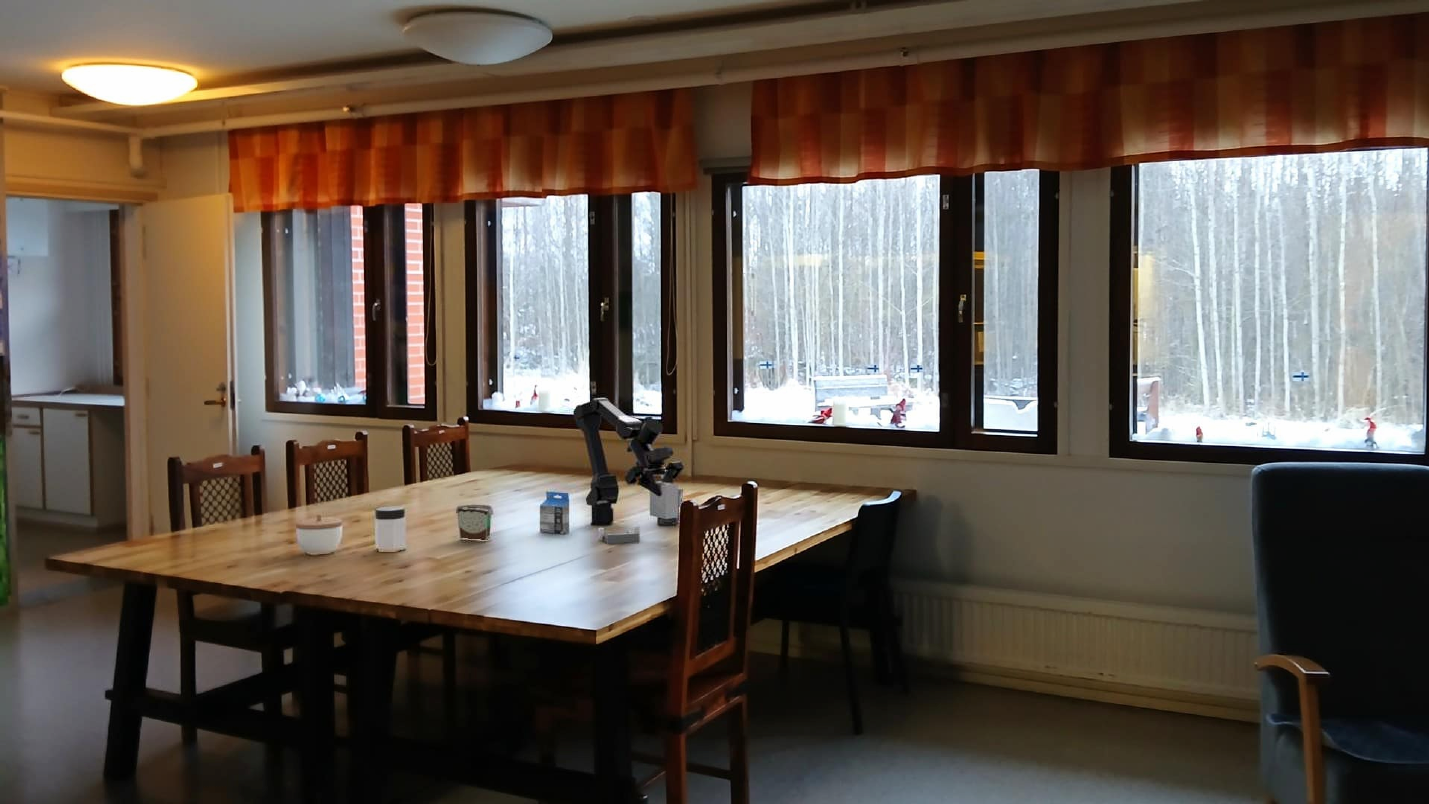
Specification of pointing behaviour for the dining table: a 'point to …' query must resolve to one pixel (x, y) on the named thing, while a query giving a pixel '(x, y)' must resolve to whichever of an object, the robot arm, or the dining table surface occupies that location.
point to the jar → (390, 527)
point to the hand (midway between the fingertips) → (666, 494)
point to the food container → (474, 521)
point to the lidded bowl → (319, 533)
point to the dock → (619, 536)
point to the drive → (665, 501)
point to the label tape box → (555, 513)
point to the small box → (672, 520)
